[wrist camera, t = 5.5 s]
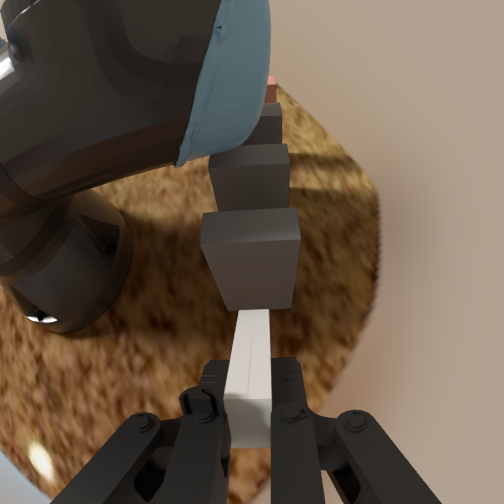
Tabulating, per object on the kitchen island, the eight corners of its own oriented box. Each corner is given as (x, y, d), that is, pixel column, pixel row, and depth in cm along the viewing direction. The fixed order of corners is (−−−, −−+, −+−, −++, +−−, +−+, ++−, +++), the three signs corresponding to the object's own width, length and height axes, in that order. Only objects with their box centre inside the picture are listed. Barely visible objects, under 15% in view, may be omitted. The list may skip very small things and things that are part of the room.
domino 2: (286, 249, 26) (290, 163, 17) (229, 251, 26) (208, 168, 17) (284, 230, 27) (286, 143, 18) (229, 233, 27) (210, 148, 18)
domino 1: (281, 201, 28) (282, 115, 20) (230, 203, 29) (214, 119, 20) (280, 186, 29) (279, 102, 21) (231, 189, 30) (216, 106, 21)
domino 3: (290, 308, 23) (300, 239, 14) (228, 311, 23) (199, 244, 14) (289, 285, 24) (296, 207, 15) (228, 288, 24) (203, 213, 16)
